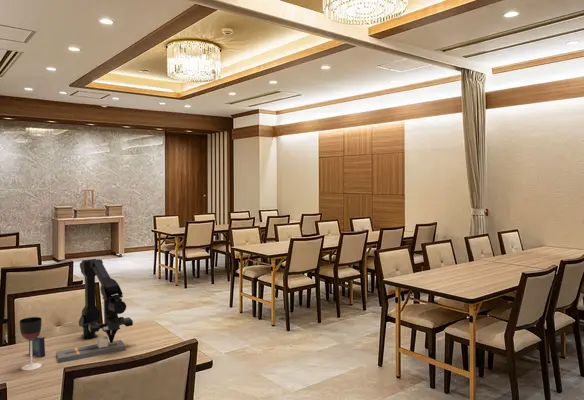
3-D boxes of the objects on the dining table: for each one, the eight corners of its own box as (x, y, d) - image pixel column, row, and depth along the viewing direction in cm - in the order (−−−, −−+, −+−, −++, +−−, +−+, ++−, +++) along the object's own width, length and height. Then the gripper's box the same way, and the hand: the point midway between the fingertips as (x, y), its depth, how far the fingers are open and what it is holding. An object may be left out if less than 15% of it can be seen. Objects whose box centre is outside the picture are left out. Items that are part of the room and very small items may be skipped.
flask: (27, 354, 206) (27, 331, 205) (33, 352, 208) (33, 329, 208) (41, 357, 202) (41, 334, 202) (47, 355, 205) (47, 332, 204)
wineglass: (26, 372, 186) (25, 324, 185) (17, 367, 191) (15, 320, 191) (46, 366, 192) (45, 319, 192) (36, 361, 198) (35, 316, 197)
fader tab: (97, 345, 211) (97, 337, 211) (106, 343, 213) (106, 336, 213) (99, 348, 207) (98, 340, 207) (108, 346, 209) (108, 338, 209)
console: (56, 355, 204) (56, 351, 204) (120, 343, 219) (120, 339, 219) (58, 363, 196) (58, 358, 195) (125, 349, 211) (125, 345, 211)
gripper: (92, 317, 200) (93, 352, 200) (135, 310, 210) (136, 343, 210) (87, 311, 209) (88, 344, 209) (129, 305, 219) (130, 337, 220)
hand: (111, 342), depth 212 cm, fingers closed
